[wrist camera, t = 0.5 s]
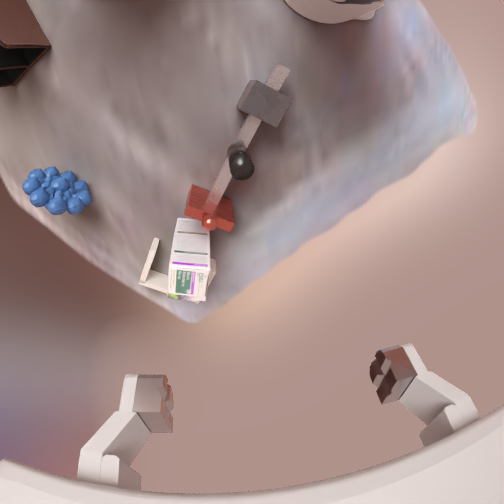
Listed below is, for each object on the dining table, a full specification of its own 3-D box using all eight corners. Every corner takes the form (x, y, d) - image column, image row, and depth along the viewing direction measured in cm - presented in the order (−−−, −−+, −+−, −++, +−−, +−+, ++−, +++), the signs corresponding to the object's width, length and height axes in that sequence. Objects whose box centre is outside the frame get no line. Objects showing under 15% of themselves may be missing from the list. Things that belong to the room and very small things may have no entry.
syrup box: (177, 216, 50) (165, 265, 38) (211, 220, 51) (210, 270, 39) (174, 245, 53) (164, 299, 41) (207, 248, 54) (206, 303, 42)
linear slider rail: (257, 57, 37) (272, 49, 26) (298, 79, 39) (326, 80, 29) (187, 194, 47) (180, 230, 37) (226, 209, 50) (230, 249, 39)
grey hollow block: (250, 80, 39) (256, 80, 33) (281, 96, 41) (292, 99, 35) (236, 105, 41) (239, 109, 35) (267, 120, 43) (276, 127, 37)
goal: (154, 237, 51) (150, 249, 48) (215, 259, 55) (216, 272, 52) (142, 270, 55) (138, 283, 52) (199, 290, 59) (199, 304, 56)
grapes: (40, 180, 42) (5, 209, 32) (53, 149, 40) (15, 172, 30) (89, 212, 47) (62, 248, 37) (104, 182, 45) (77, 213, 35)
